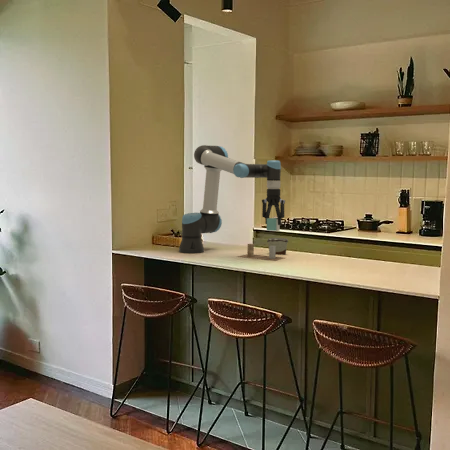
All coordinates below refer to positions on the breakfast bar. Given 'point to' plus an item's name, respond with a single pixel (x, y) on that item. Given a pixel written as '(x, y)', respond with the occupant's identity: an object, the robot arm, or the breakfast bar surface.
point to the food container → (278, 245)
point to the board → (261, 257)
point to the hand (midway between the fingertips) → (273, 230)
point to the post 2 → (272, 252)
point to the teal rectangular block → (271, 224)
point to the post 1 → (250, 250)
